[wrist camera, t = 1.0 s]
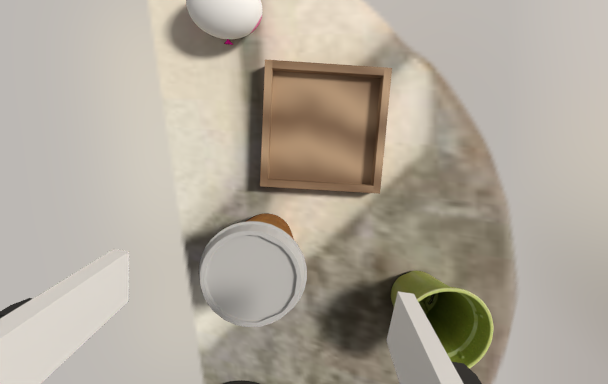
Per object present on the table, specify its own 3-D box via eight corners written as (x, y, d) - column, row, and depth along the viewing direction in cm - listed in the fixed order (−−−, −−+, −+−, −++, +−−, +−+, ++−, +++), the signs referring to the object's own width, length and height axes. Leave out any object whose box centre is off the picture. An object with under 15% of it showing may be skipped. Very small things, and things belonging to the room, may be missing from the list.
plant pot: (392, 247, 38) (419, 276, 29) (462, 269, 38) (508, 304, 30) (367, 314, 39) (385, 361, 31) (435, 335, 40) (472, 386, 31)
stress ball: (267, 17, 37) (267, -45, 31) (259, 63, 34) (257, 3, 28) (204, 9, 37) (191, -56, 31) (189, 55, 33) (171, -8, 27)
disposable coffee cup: (224, 270, 38) (190, 326, 26) (231, 196, 37) (197, 219, 25) (300, 278, 38) (300, 337, 27) (309, 204, 37) (313, 231, 25)
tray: (375, 190, 37) (379, 193, 35) (262, 184, 37) (259, 186, 34) (386, 73, 35) (392, 68, 33) (267, 65, 35) (265, 59, 33)
